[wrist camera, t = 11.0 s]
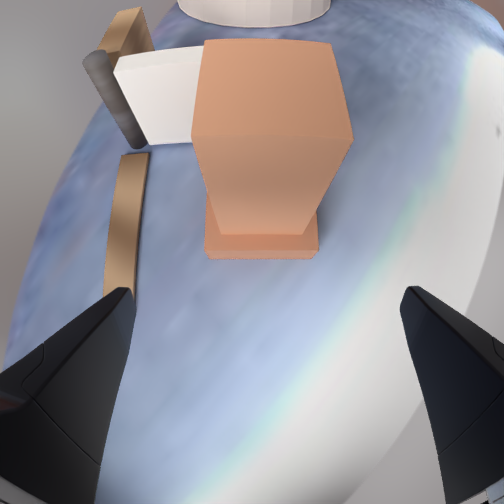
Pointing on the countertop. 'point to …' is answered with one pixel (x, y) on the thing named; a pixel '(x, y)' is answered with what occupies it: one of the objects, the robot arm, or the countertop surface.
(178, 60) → the door
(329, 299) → the countertop surface
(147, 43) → the door frame
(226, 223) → the tan square pedestal
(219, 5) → the kettle
